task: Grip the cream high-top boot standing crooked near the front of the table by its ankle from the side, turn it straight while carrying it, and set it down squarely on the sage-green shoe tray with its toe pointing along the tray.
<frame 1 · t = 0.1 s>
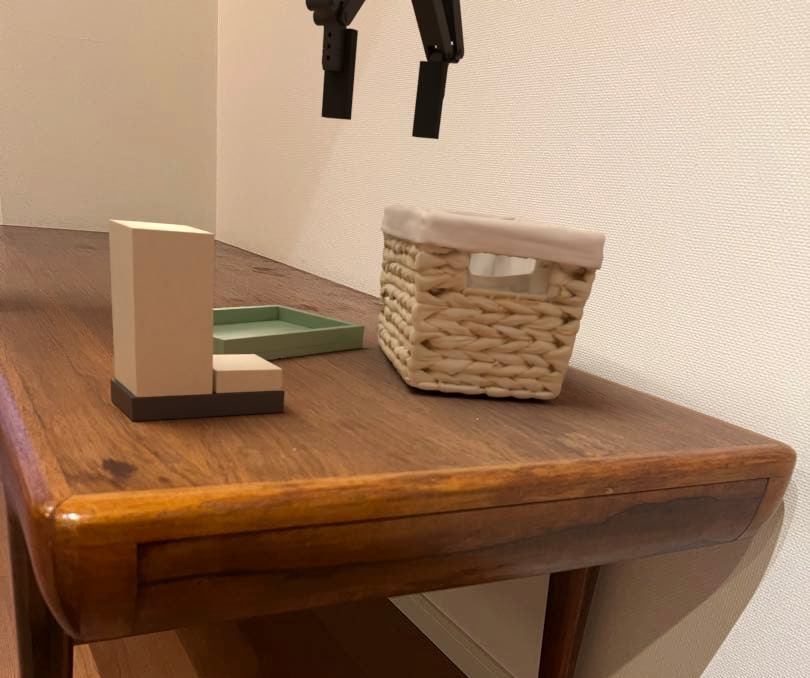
hand: (383, 129, 72), 21 cm above the table, tool pointing down, fingers open, 13 cm apart
boot: (199, 406, 56), on the table
shoe tray: (254, 342, 79), on the table
basket: (459, 373, 78), on the table
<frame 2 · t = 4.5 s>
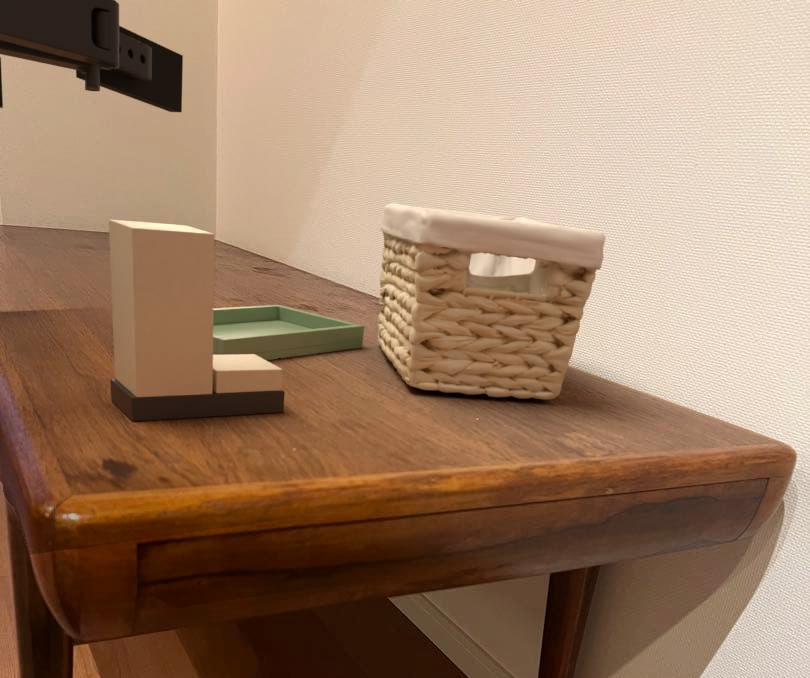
hand: (82, 83, 44), 19 cm above the table, tool horizontal, fingers open, 13 cm apart
nothing on the table moved.
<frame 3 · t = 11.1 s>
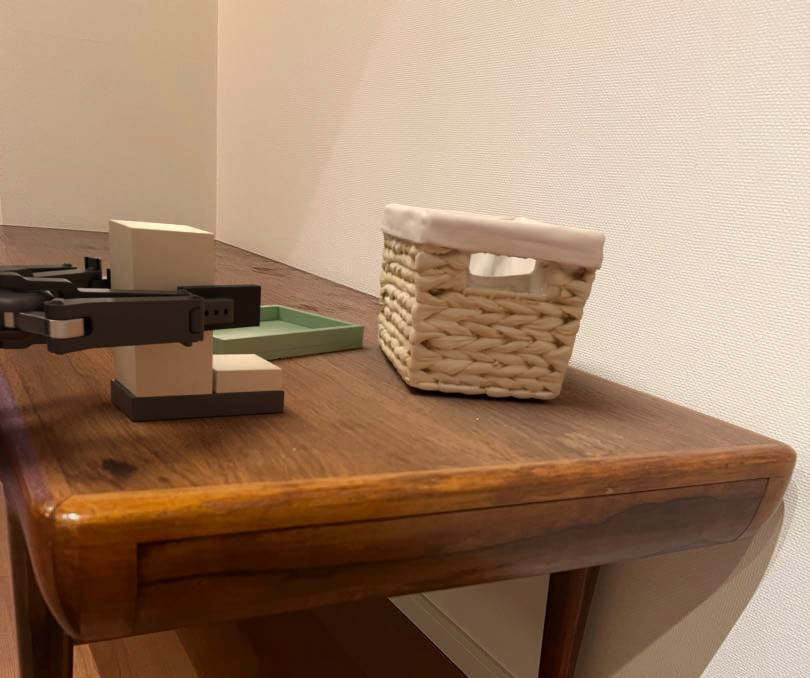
hand: (220, 296, 56), 8 cm above the table, tool horizontal, fingers closed on boot, 6 cm apart
boot: (199, 406, 56), on the table, touching gripper
everything else where it was.
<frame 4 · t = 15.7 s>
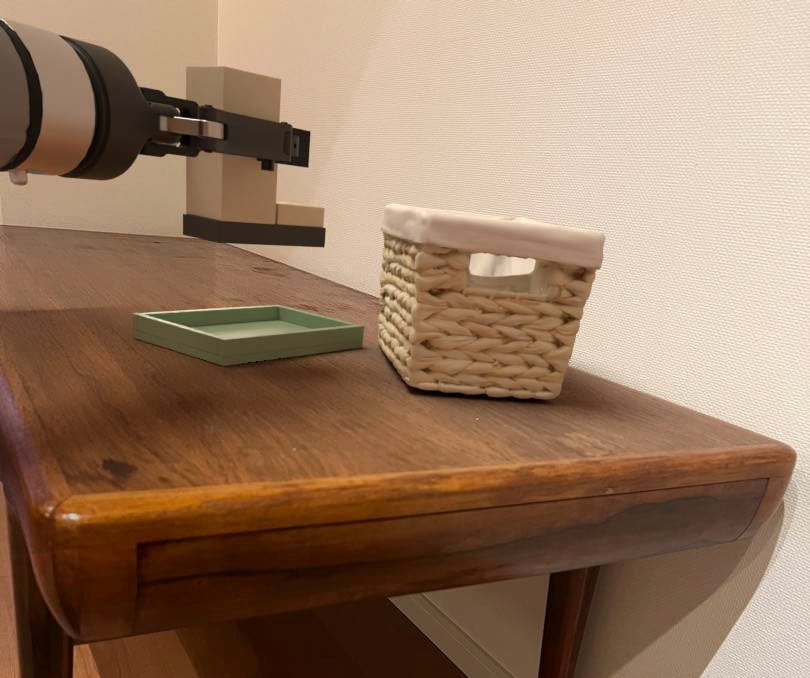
hand: (268, 144, 65), 18 cm above the table, tool horizontal, fingers closed on boot, 6 cm apart
boot: (256, 241, 66), point 10 cm above the table, touching gripper
everything else where it was.
when the fingers open (8 cm above the table, at t = 20.6 s): boot stays where it is, resting on shoe tray.
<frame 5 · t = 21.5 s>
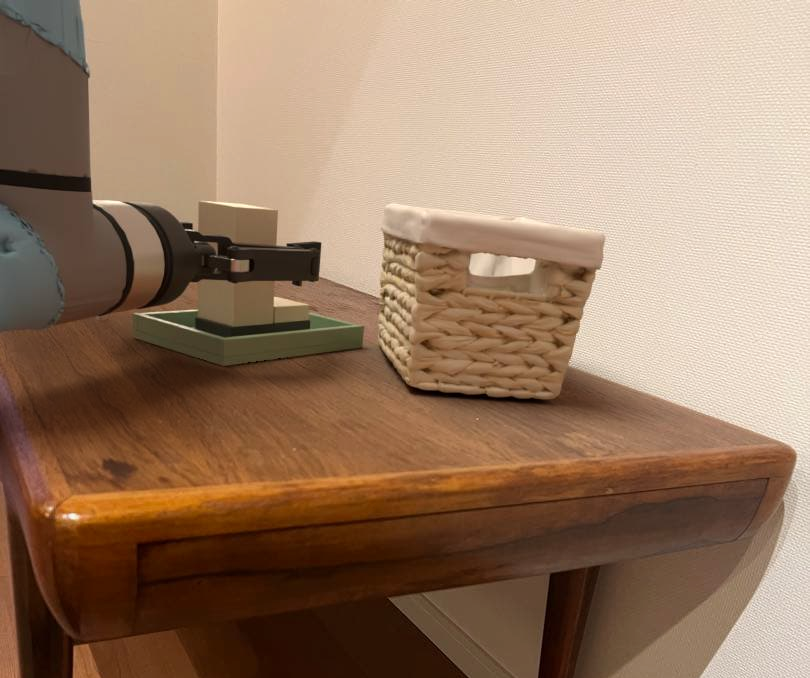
hand: (252, 246, 76), 9 cm above the table, tool horizontal, fingers open, 13 cm apart
boot: (254, 335, 79), point 1 cm above the table, touching shoe tray
everything else where it was.
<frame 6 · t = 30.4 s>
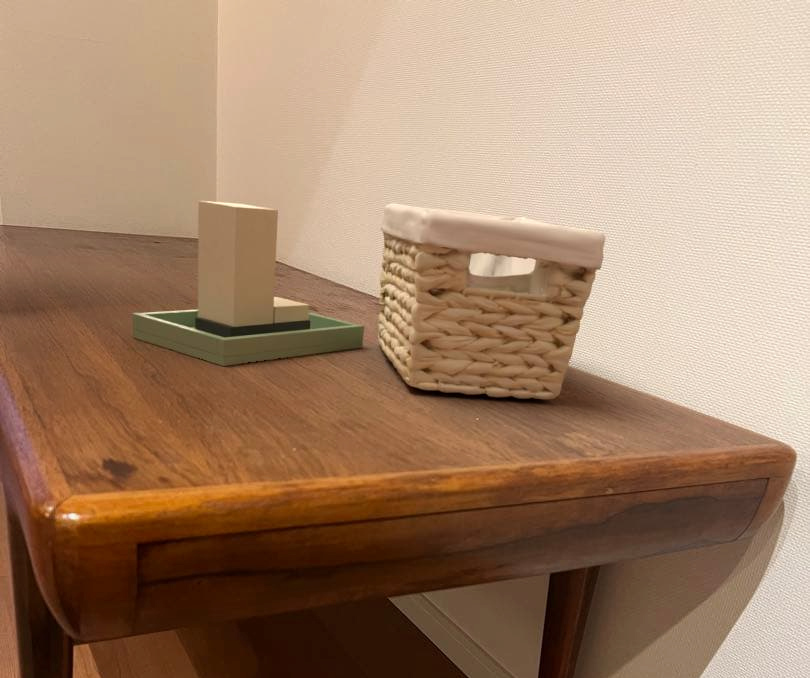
nothing on the table moved.
at the end: boot inside the target area in the shoe tray (0.1 cm from its centre), point 0.8 cm above the shoe tray's base; boot tilted 0°; the gripper is holding nothing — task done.
